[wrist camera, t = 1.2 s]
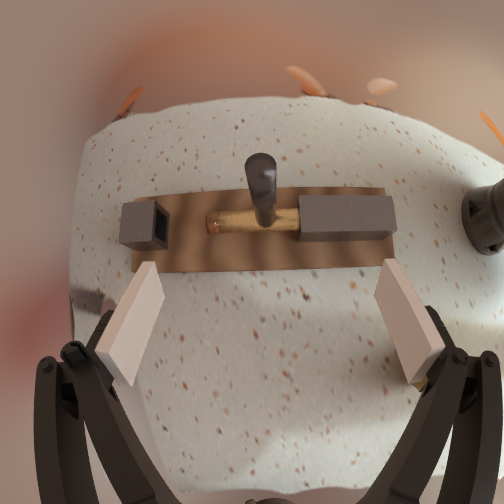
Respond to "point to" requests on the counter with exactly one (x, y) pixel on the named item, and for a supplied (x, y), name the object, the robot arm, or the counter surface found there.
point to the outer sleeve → (345, 218)
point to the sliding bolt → (256, 204)
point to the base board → (253, 237)
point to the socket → (144, 226)
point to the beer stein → (270, 501)
